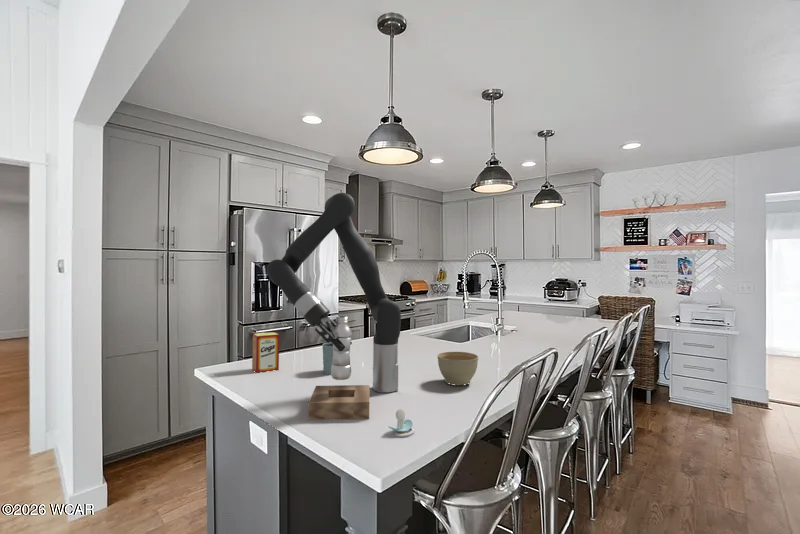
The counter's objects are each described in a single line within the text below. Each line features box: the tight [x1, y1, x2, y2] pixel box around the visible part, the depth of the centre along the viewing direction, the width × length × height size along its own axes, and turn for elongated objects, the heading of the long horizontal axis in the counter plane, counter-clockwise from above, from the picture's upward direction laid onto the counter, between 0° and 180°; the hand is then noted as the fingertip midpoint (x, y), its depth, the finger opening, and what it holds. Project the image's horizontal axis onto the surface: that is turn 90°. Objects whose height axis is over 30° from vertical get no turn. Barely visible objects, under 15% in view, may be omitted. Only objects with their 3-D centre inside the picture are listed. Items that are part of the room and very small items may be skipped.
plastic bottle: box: [330, 315, 353, 381], centre depth 125 cm, size 6×7×20 cm
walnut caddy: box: [307, 384, 370, 421], centre depth 125 cm, size 18×17×5 cm
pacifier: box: [388, 408, 416, 438], centre depth 108 cm, size 7×6×6 cm
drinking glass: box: [322, 342, 333, 375], centre depth 169 cm, size 10×10×12 cm
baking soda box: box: [251, 331, 280, 374], centre depth 171 cm, size 10×6×16 cm
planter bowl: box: [437, 351, 479, 386], centre depth 155 cm, size 16×16×11 cm
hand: (346, 347), depth 125 cm, fingers closed on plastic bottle, 6 cm apart
